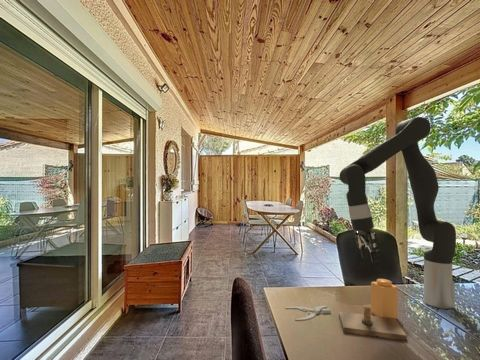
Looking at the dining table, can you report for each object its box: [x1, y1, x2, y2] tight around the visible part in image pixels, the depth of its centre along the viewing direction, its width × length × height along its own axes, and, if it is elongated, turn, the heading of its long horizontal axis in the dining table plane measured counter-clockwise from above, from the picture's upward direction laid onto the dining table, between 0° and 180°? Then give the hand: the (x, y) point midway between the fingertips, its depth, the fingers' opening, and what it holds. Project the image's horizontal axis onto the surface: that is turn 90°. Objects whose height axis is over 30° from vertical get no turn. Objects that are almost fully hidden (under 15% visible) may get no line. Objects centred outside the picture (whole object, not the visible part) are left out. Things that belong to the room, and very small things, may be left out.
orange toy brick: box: [370, 278, 399, 320], centre depth 98 cm, size 6×6×12 cm
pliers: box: [285, 305, 332, 322], centre depth 99 cm, size 10×2×15 cm
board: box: [338, 305, 408, 341], centre depth 89 cm, size 18×11×6 cm, turn 77°
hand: (370, 260), depth 101 cm, fingers open, 8 cm apart
